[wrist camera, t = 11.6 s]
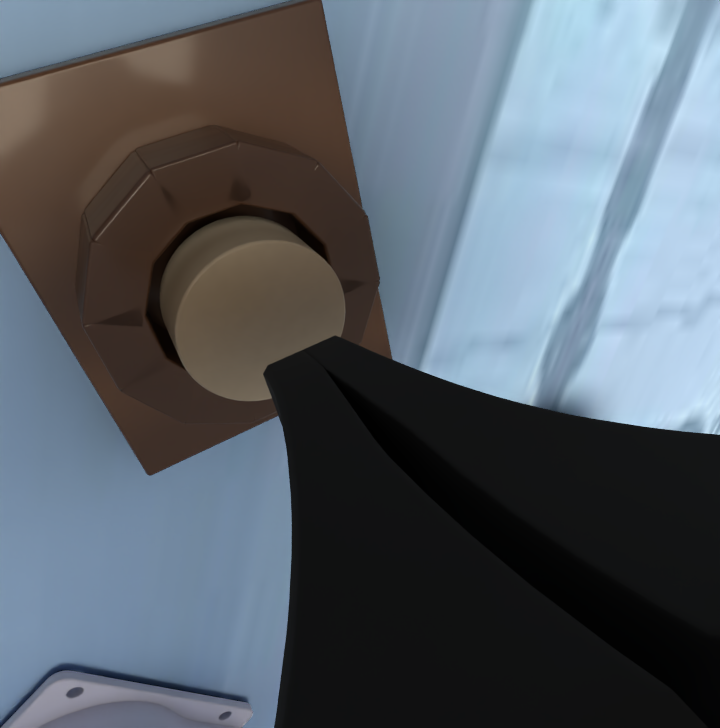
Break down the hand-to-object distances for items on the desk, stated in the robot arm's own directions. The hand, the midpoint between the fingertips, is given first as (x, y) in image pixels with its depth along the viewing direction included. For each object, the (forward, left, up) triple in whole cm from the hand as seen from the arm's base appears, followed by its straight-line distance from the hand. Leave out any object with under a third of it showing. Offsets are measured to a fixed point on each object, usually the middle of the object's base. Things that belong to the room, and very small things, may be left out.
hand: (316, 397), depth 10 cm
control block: (0, 0, -7) cm, 7 cm away
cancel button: (0, 0, -4) cm, 4 cm away
